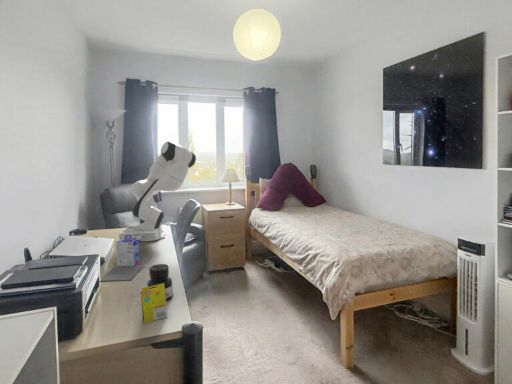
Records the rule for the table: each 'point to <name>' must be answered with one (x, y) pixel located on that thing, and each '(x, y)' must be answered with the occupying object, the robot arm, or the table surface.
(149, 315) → the crayon box
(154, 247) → the table surface
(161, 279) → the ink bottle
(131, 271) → the desk mat
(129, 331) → the table surface
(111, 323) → the table surface
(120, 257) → the ink cartridge box
